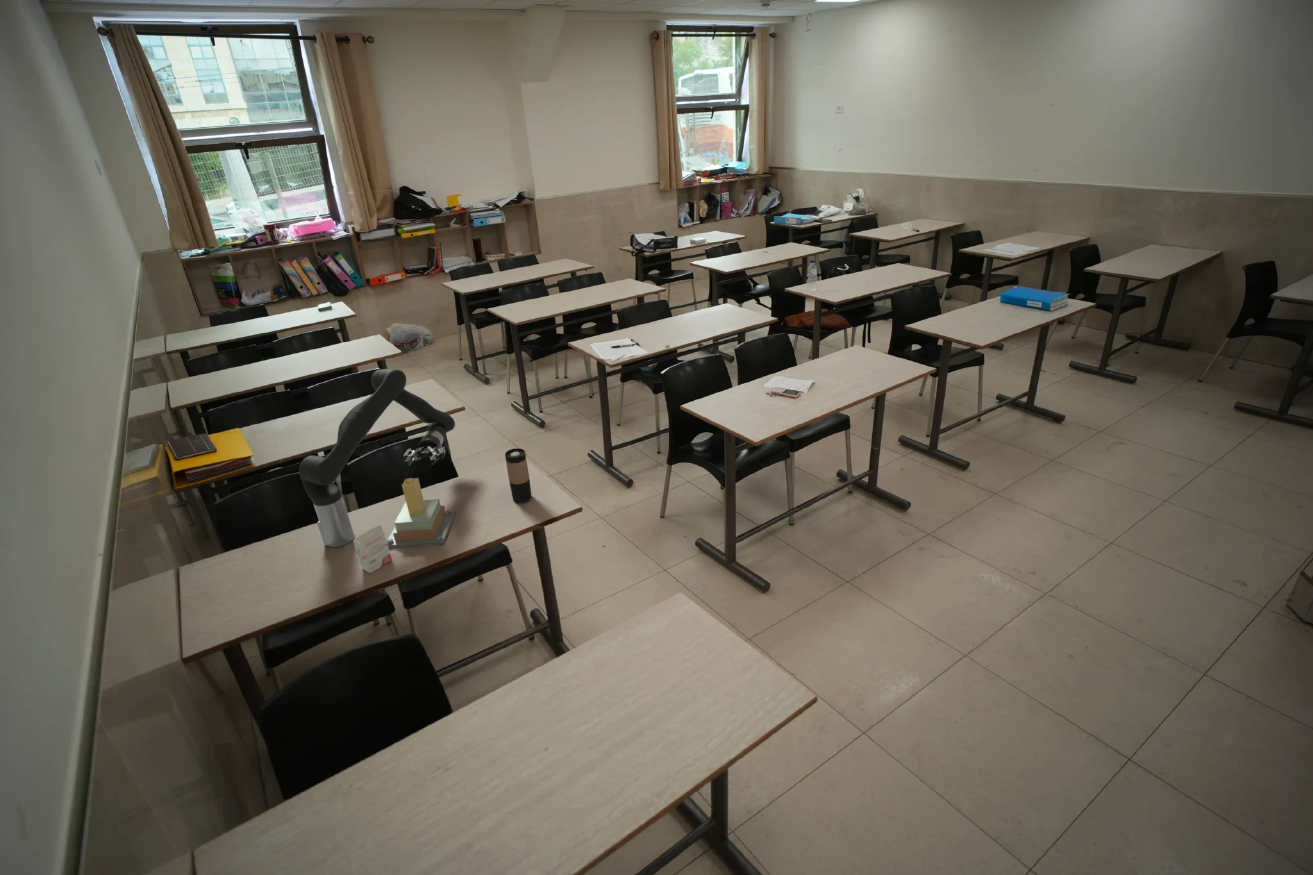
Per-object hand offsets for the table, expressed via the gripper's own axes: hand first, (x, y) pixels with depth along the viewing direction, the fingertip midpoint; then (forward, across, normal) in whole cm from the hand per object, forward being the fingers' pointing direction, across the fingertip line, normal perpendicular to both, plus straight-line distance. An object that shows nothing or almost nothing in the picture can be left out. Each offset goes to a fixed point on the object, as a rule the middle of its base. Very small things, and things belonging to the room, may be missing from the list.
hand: (419, 463), depth 239 cm
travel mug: (-4, +34, +20) cm, 40 cm away
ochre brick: (+12, 0, +12) cm, 18 cm away
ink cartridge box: (+32, -10, +21) cm, 39 cm away
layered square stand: (+12, 0, +21) cm, 24 cm away
